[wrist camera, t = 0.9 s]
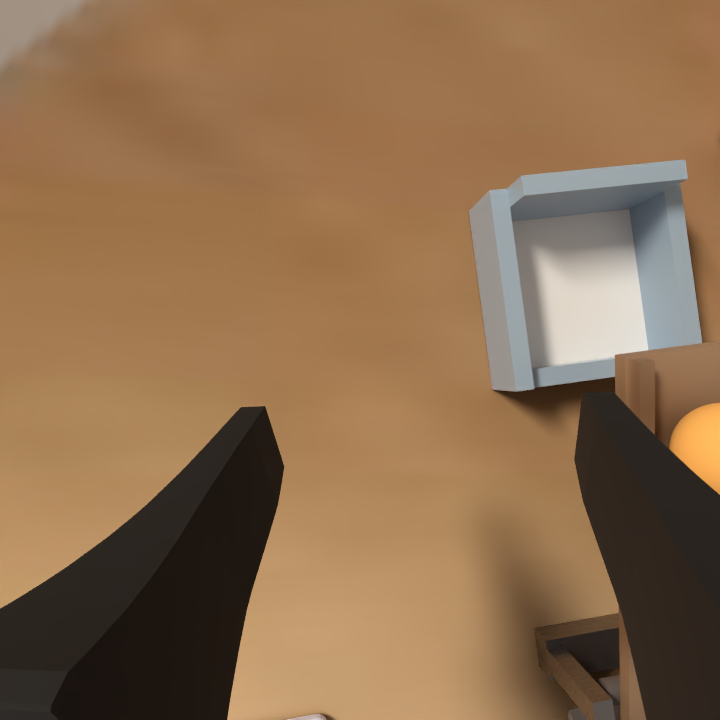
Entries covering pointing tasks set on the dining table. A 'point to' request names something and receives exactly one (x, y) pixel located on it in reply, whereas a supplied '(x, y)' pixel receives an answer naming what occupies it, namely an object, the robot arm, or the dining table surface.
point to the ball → (700, 443)
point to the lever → (661, 415)
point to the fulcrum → (581, 660)
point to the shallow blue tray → (583, 272)
